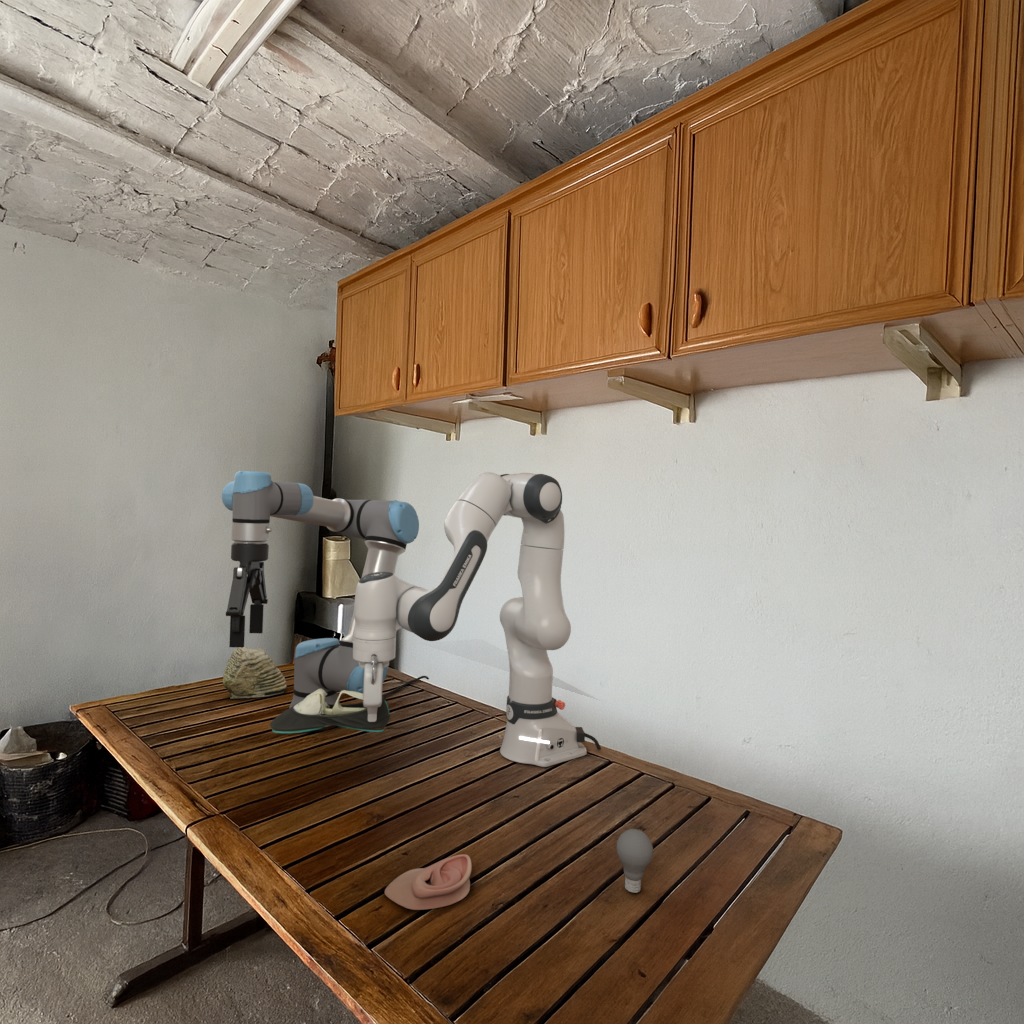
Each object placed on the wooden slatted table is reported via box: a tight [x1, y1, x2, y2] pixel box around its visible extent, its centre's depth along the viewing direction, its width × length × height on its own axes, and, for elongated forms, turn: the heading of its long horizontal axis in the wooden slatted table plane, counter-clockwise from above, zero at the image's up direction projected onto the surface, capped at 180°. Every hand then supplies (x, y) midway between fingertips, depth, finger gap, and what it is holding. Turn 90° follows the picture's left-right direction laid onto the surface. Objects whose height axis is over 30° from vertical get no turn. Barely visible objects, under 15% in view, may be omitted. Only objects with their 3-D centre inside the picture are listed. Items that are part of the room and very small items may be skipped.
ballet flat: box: [269, 688, 391, 734], centre depth 133 cm, size 8×24×8 cm, turn 103°
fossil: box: [222, 646, 288, 699], centre depth 198 cm, size 9×18×15 cm, turn 132°
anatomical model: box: [384, 853, 473, 911], centre depth 104 cm, size 13×4×12 cm
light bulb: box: [615, 828, 654, 894], centre depth 106 cm, size 6×6×10 cm
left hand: (246, 639), depth 138 cm, fingers open, 13 cm apart
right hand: (372, 714), depth 134 cm, fingers closed on ballet flat, 6 cm apart
